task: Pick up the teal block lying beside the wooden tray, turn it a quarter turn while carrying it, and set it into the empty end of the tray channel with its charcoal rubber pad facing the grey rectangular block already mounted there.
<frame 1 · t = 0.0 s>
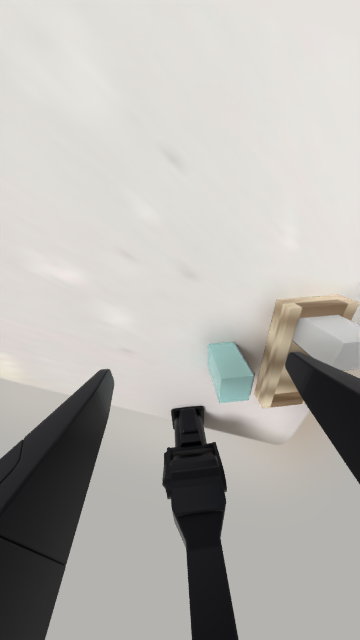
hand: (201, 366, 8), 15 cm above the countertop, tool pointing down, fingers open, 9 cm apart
teal block: (220, 354, 27), on the countertop
grey rectangular block: (307, 323, 24), resting on wooden tray
wooden tray: (289, 352, 28), on the countertop
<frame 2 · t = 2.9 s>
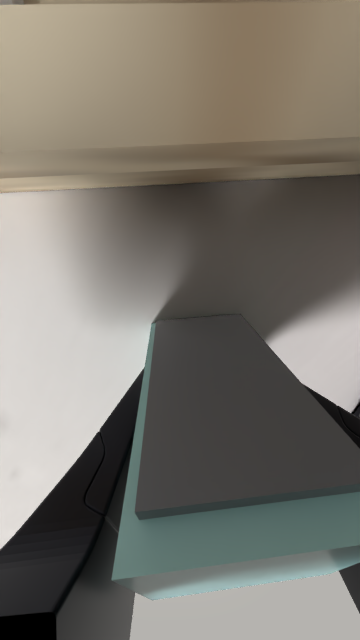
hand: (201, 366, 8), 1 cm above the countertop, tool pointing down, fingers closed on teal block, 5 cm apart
teal block: (196, 350, 9), on the countertop, touching gripper
when the fingers open (5 cm above the countertop, at t = 6.9 s): teal block drops 2 cm, resting on wooden tray.
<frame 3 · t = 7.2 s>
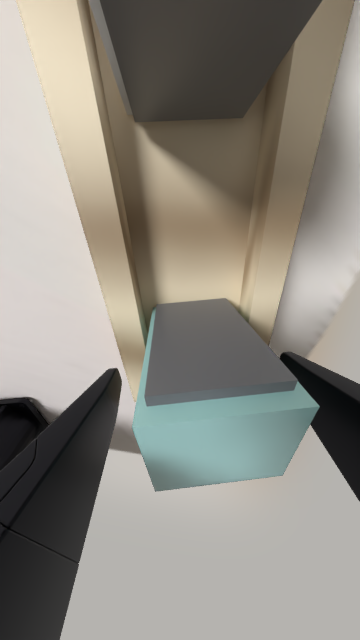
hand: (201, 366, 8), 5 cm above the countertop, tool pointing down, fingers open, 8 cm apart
teal block: (191, 331, 11), point 1 cm above the countertop, touching wooden tray
grey rectangular block: (185, 22, 5), resting on wooden tray
wooden tray: (187, 240, 10), on the countertop
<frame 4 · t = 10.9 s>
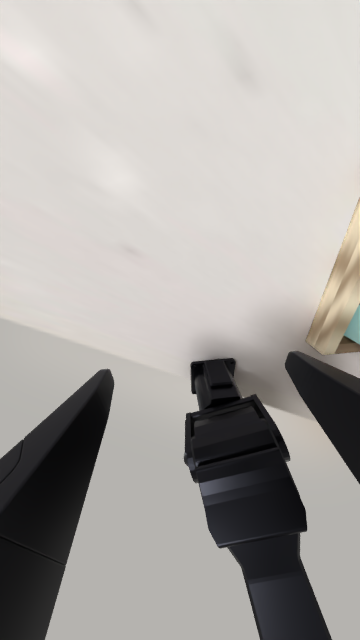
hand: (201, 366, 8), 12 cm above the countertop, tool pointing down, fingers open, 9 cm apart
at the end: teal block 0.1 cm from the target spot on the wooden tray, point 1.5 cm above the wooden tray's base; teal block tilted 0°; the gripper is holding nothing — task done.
